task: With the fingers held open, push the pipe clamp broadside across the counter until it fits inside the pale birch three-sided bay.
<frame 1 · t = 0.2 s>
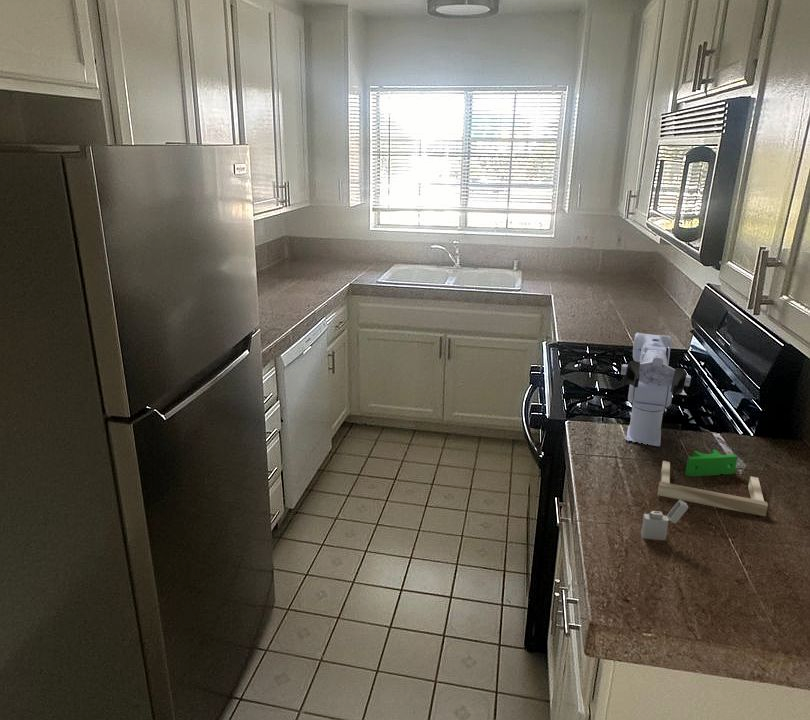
hand: (655, 386, 129), 21 cm above the worktop, tool horizontal, fingers open, 7 cm apart
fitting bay: (708, 490, 130), on the worktop
lighter: (661, 538, 114), on the worktop
pipe clamp: (706, 472, 137), on the worktop
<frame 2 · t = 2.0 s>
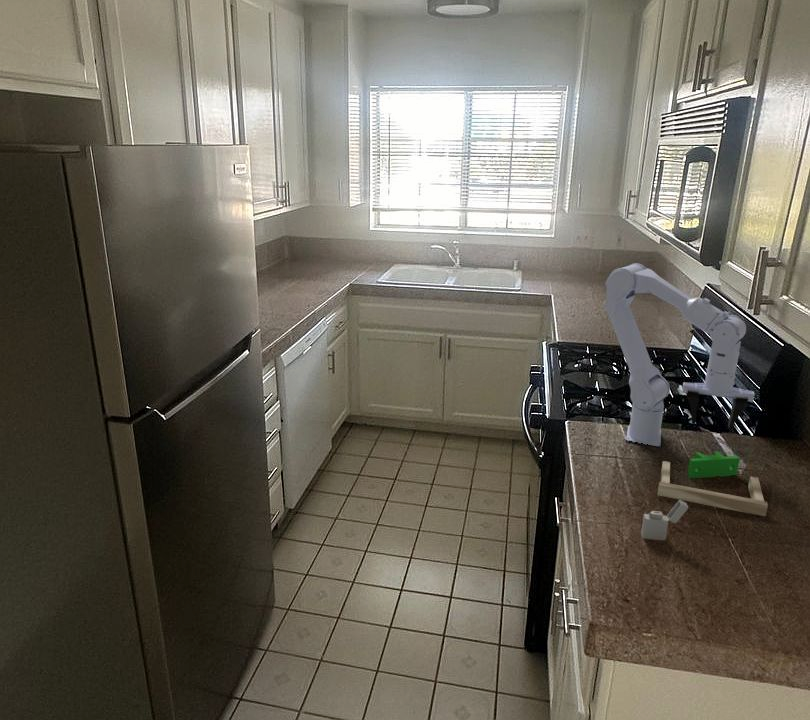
hand: (711, 424, 141), 8 cm above the worktop, tool pointing down, fingers open, 7 cm apart
nothing on the worktop moved.
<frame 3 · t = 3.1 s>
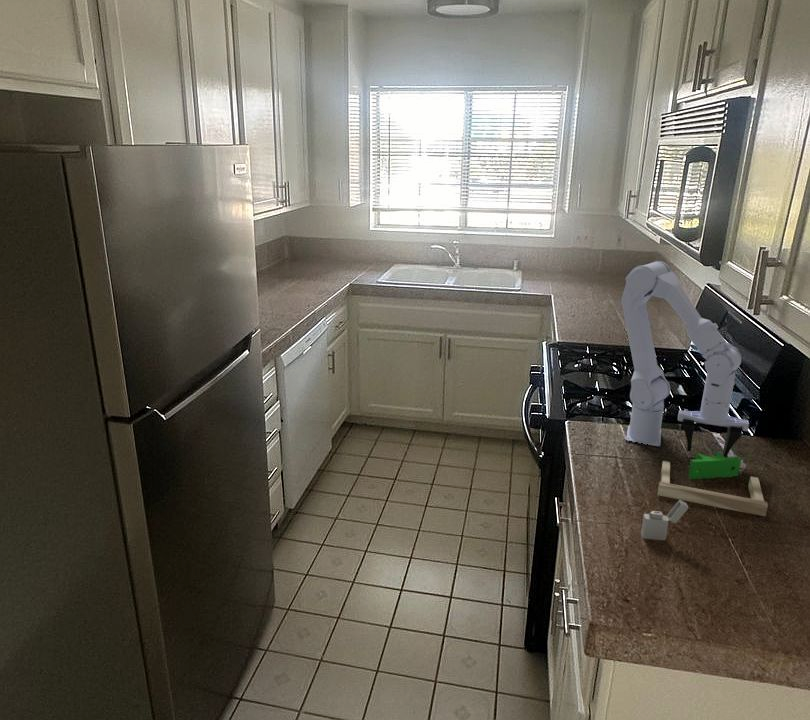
hand: (706, 452, 142), 2 cm above the worktop, tool pointing down, fingers open, 7 cm apart
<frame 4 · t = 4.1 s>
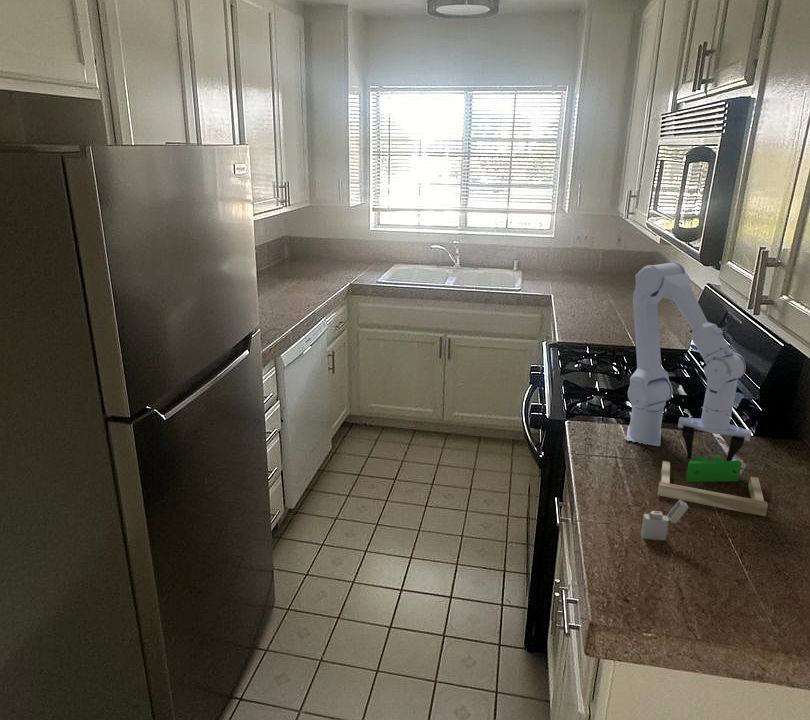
hand: (707, 461, 138), 2 cm above the worktop, tool pointing down, fingers open, 7 cm apart
pipe clamp: (709, 478, 135), on the worktop, touching gripper
everything else where it was.
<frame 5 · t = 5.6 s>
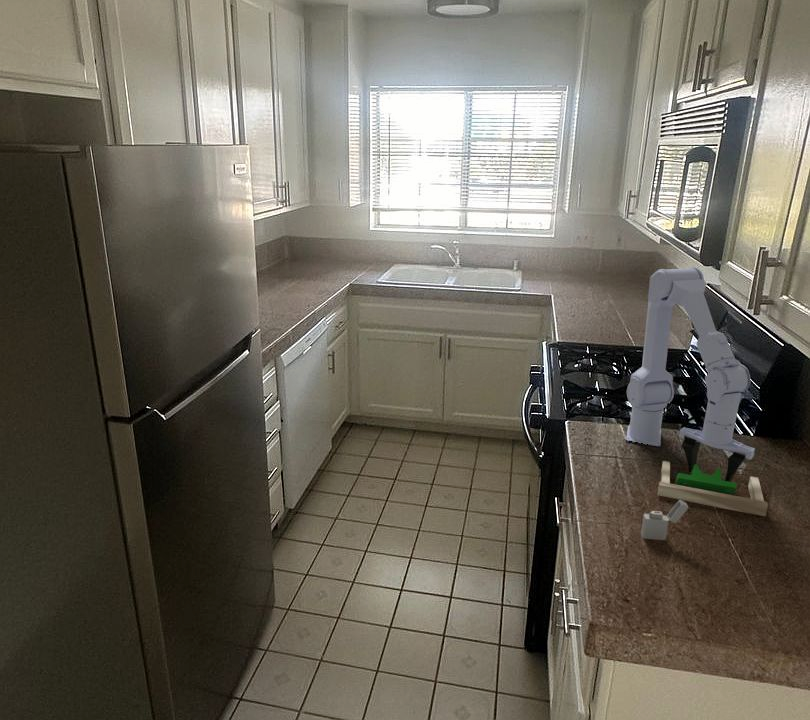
hand: (709, 476, 132), 2 cm above the worktop, tool pointing down, fingers open, 7 cm apart
pipe clamp: (704, 483, 131), point 1 cm above the worktop, touching gripper
everything else where it was.
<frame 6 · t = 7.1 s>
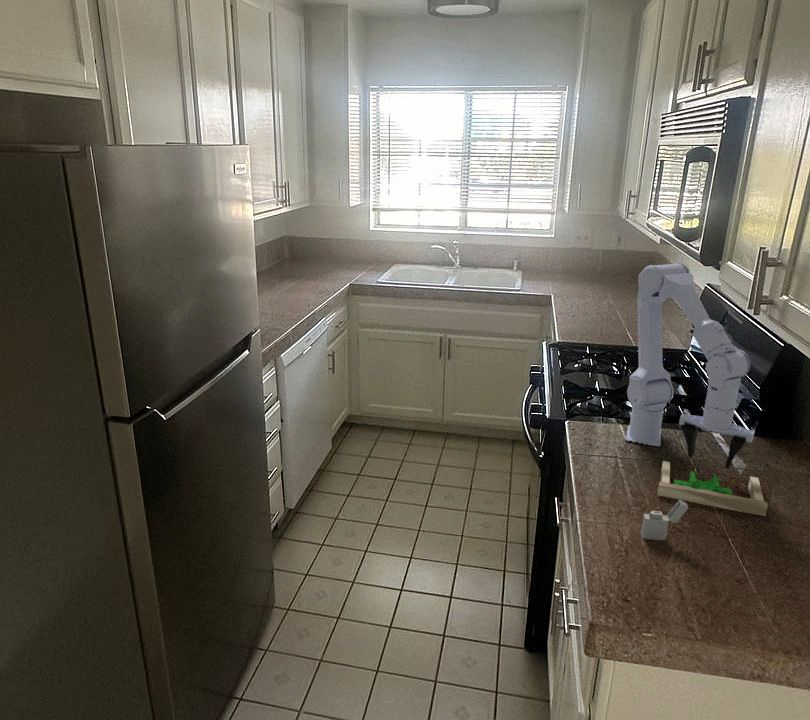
hand: (709, 460, 135), 3 cm above the worktop, tool pointing down, fingers open, 7 cm apart
pipe clamp: (702, 481, 130), point 2 cm above the worktop
everything else where it was.
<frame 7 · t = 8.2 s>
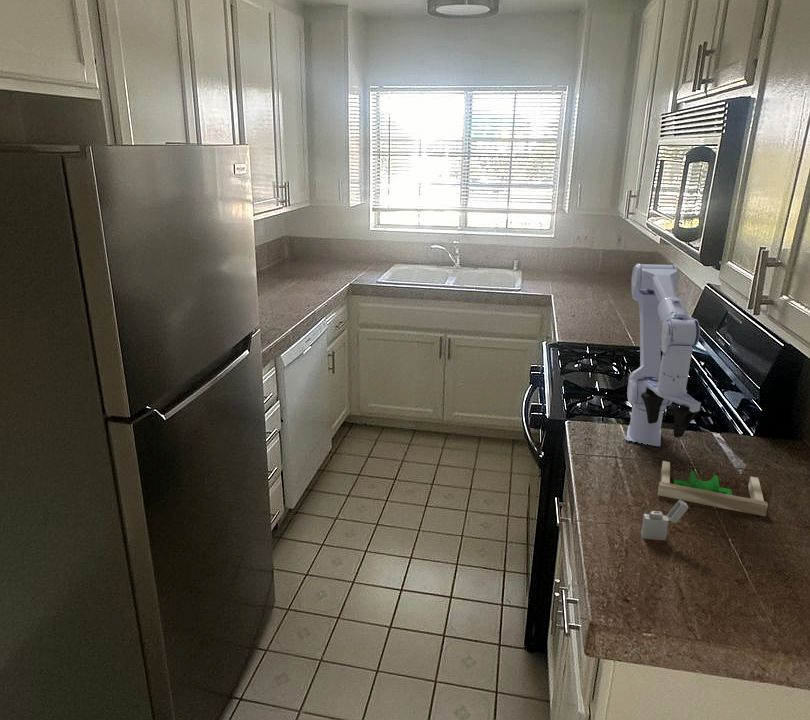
hand: (664, 429, 136), 9 cm above the worktop, tool pointing down, fingers open, 7 cm apart
nothing on the worktop moved.
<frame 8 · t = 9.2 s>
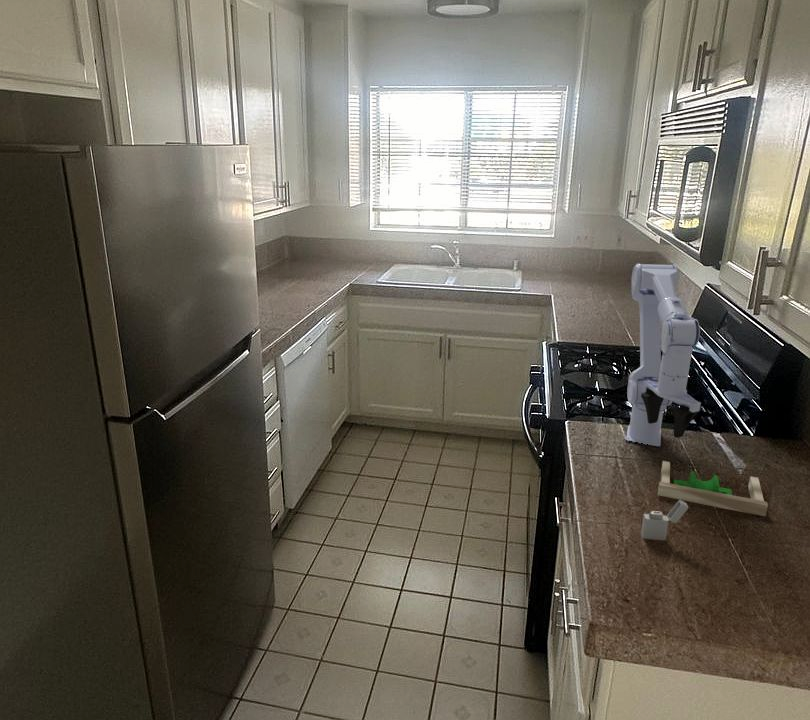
hand: (664, 429, 136), 9 cm above the worktop, tool pointing down, fingers open, 7 cm apart
nothing on the worktop moved.
at the end: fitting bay 0.0 cm off-centre on the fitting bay, point 0.0 cm above the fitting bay's base; pipe clamp inside the target area on the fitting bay (1.7 cm from its centre), point 1.7 cm above the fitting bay's base; pipe clamp moved 9.1 cm from its start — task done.
